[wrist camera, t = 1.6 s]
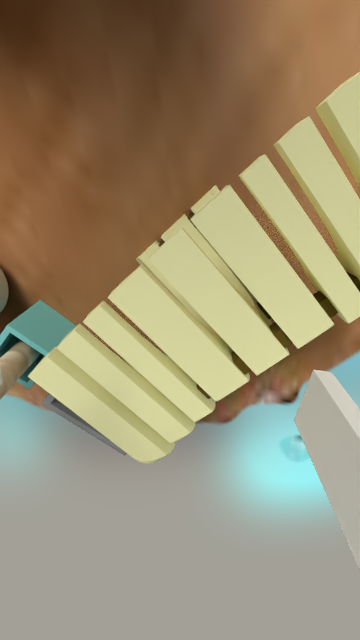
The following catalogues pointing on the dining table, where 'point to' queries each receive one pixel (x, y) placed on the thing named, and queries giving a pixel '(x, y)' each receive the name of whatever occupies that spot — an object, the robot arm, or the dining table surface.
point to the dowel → (15, 364)
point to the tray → (76, 420)
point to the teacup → (3, 290)
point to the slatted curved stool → (220, 295)
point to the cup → (35, 334)
